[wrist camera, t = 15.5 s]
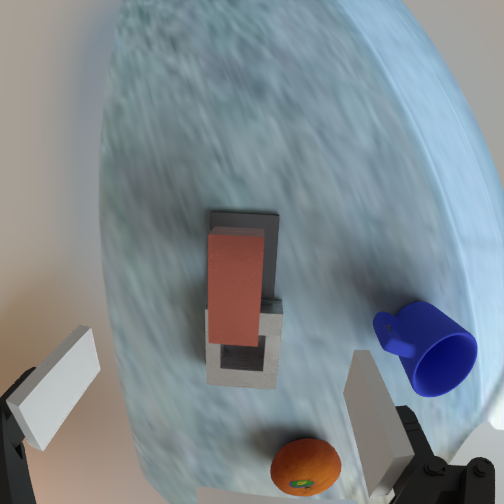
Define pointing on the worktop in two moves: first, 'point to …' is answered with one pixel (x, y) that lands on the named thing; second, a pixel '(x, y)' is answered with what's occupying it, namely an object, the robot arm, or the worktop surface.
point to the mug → (428, 347)
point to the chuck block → (248, 353)
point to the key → (234, 285)
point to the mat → (270, 240)
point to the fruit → (305, 467)
